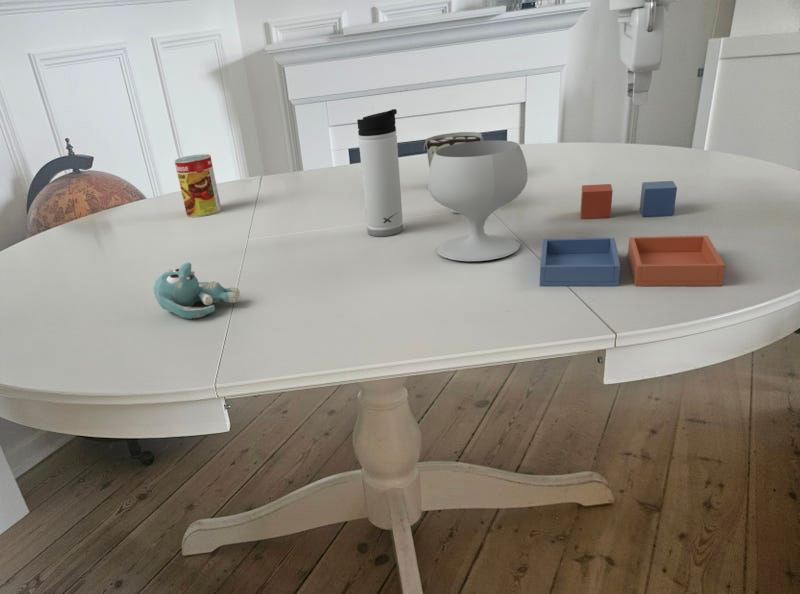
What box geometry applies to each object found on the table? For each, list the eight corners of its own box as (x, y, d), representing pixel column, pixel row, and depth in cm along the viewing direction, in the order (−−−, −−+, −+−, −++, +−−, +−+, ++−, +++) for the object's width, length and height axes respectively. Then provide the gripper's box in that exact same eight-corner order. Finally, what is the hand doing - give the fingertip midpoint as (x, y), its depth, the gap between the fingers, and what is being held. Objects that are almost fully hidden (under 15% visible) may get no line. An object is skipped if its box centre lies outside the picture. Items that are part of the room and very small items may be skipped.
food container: (483, 177, 138) (482, 129, 133) (484, 183, 132) (484, 134, 128) (426, 182, 140) (423, 135, 136) (425, 188, 135) (423, 140, 130)
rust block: (608, 210, 105) (611, 183, 103) (610, 217, 102) (612, 190, 100) (580, 211, 107) (582, 185, 105) (580, 218, 103) (582, 191, 101)
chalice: (540, 257, 90) (544, 148, 83) (443, 271, 90) (439, 164, 83) (507, 231, 102) (508, 134, 95) (422, 243, 102) (417, 148, 95)
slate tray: (613, 255, 87) (614, 237, 86) (618, 286, 78) (620, 266, 76) (542, 256, 90) (543, 239, 89) (539, 286, 81) (540, 266, 80)
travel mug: (396, 237, 107) (387, 112, 98) (361, 236, 110) (349, 115, 101) (410, 226, 112) (402, 106, 102) (376, 225, 115) (366, 109, 106)
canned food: (184, 212, 145) (172, 158, 140) (218, 205, 147) (207, 152, 141) (189, 219, 138) (176, 163, 133) (224, 212, 140) (213, 156, 135)
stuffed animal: (229, 281, 81) (138, 272, 82) (229, 331, 85) (142, 322, 85) (246, 254, 91) (165, 247, 91) (246, 300, 94) (167, 293, 95)
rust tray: (704, 254, 83) (707, 235, 82) (721, 286, 74) (725, 265, 73) (627, 255, 86) (629, 237, 85) (634, 286, 77) (636, 265, 76)
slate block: (669, 208, 102) (673, 180, 100) (673, 215, 98) (677, 187, 96) (639, 209, 104) (642, 182, 102) (642, 216, 100) (645, 189, 98)
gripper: (683, -14, 77) (670, 107, 83) (661, -11, 93) (652, 89, 100) (625, -5, 79) (617, 112, 85) (614, -4, 96) (608, 94, 102)
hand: (636, 100), depth 92 cm, fingers open, 8 cm apart
